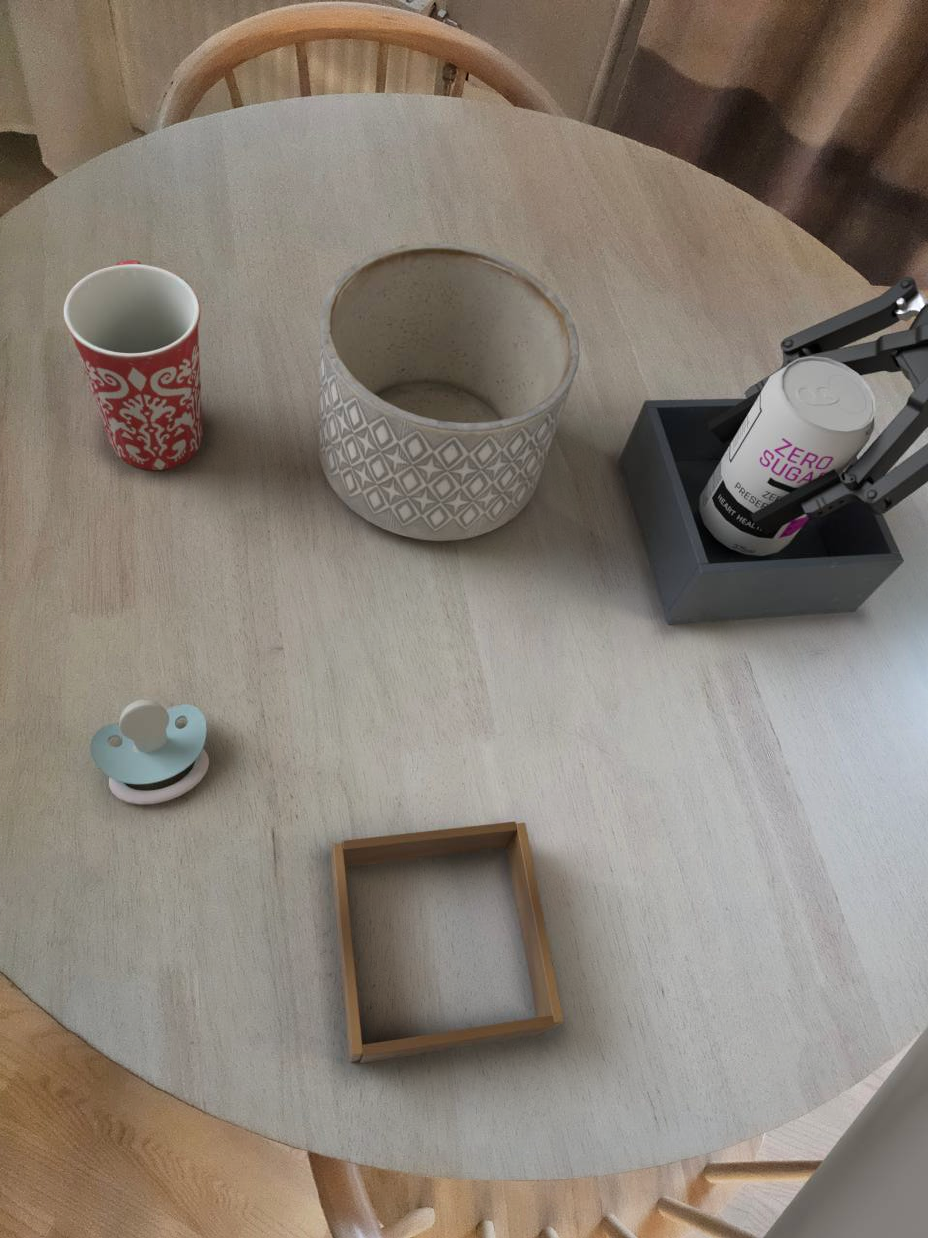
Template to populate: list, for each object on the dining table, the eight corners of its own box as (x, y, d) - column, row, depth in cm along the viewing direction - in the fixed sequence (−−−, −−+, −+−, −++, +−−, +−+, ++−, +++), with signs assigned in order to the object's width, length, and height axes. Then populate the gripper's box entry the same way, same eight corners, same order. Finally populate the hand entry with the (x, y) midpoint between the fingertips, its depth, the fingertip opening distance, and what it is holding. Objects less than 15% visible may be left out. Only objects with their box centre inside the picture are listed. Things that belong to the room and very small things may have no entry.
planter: (360, 575, 73) (371, 455, 61) (289, 399, 81) (286, 260, 68) (573, 521, 79) (623, 401, 66) (487, 361, 87) (518, 227, 74)
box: (549, 1033, 58) (564, 1024, 55) (349, 1065, 56) (352, 1058, 52) (513, 838, 64) (524, 820, 61) (330, 859, 62) (332, 841, 58)
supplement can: (771, 478, 82) (858, 348, 69) (804, 557, 78) (903, 436, 65) (684, 482, 80) (756, 350, 67) (713, 564, 76) (796, 440, 63)
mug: (220, 476, 76) (205, 351, 64) (100, 485, 74) (63, 358, 62) (207, 361, 82) (191, 227, 70) (96, 366, 80) (61, 229, 68)
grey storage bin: (854, 611, 78) (904, 561, 72) (667, 625, 75) (701, 573, 68) (790, 454, 86) (829, 396, 80) (618, 460, 83) (645, 399, 76)
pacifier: (223, 787, 63) (201, 707, 66) (216, 754, 58) (192, 669, 60) (110, 821, 61) (91, 738, 63) (92, 791, 56) (72, 701, 58)
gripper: (1136, 445, 61) (806, 606, 71) (976, 228, 71) (705, 396, 80) (1132, 394, 55) (773, 578, 65) (959, 165, 65) (669, 355, 75)
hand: (736, 477), depth 73 cm, fingers closed on supplement can, 8 cm apart
